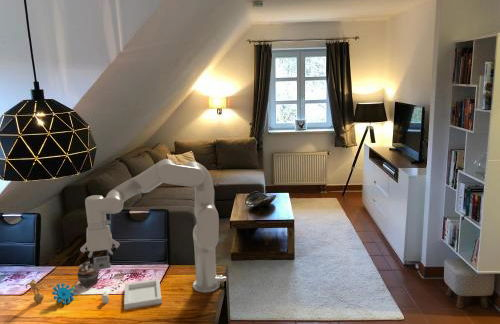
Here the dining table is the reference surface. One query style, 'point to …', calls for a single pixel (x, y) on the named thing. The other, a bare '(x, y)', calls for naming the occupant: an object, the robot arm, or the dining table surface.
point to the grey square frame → (101, 263)
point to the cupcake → (87, 275)
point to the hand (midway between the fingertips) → (102, 262)
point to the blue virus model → (63, 293)
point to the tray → (142, 294)
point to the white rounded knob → (105, 298)
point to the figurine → (38, 296)
